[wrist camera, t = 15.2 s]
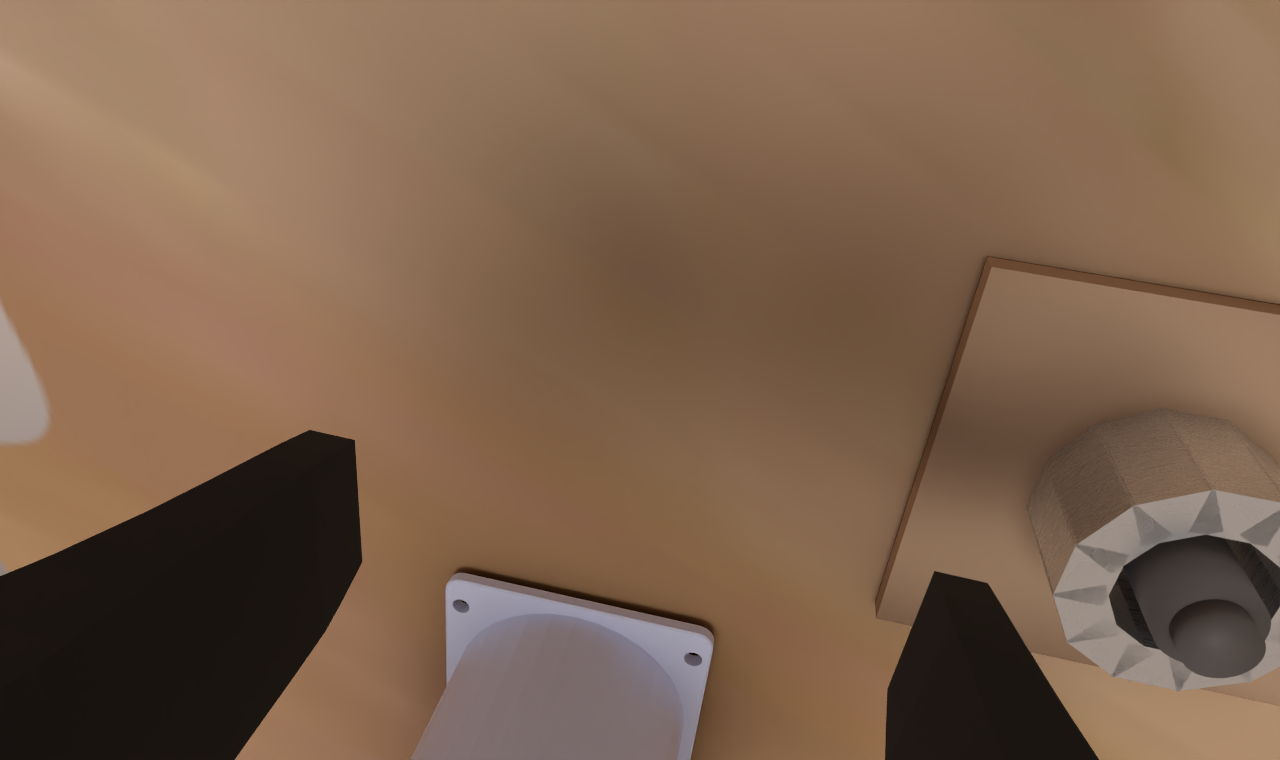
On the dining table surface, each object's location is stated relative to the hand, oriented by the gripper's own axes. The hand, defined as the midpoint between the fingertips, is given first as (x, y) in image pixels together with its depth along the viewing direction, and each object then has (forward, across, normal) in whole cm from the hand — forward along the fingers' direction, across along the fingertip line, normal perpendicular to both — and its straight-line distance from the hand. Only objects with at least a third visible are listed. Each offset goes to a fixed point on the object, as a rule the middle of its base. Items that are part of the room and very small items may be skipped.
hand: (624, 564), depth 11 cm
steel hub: (+10, -10, +4) cm, 15 cm away
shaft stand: (+10, -11, +4) cm, 15 cm away
